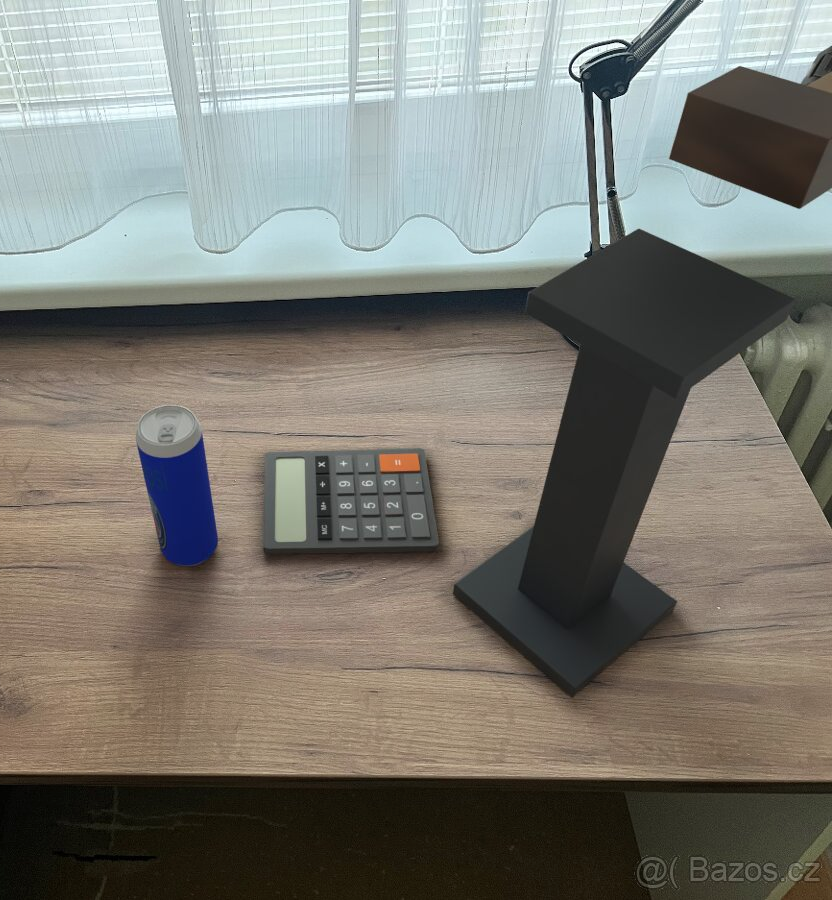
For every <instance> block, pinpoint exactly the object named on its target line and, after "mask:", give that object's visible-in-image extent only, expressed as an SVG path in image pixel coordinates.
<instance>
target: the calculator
mask: <svg viewBox="0 0 832 900" xmlns="http://www.w3.org/2000/svg"><path fill="white" fill-rule="evenodd" d="M427 464H428V463H427V457H426V452H425V449H423V448H420V447H416V448H413V447H412V448H377V449H375V448H373V449H372V448H371V449H342V450H341V449H340V450H339V449H337V450H302V451H301V450H300V451H269V452H265V455H264V486H263V488H264V489H263V490H264V491H263V492H264V495H263V531H262V540H263V541H262V547H263V549H262V550H263V553H264V554H267V555H271V554H272V555H273V554H274V555H276V554H277V555H278V554H282V555H283V554H343V553H345V554H347V553H350V554H351V553H407V552H409V553H411V552H437V551H438V549H439V543H440V541H439V534H438V527H437V522H436V517H435V515H436V514H435V509H434V503H433V496H432V490H431V483H430V478H429V477H430V476H429V471H428V465H427Z"/></svg>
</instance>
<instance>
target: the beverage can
mask: <svg viewBox="0 0 832 900" xmlns="http://www.w3.org/2000/svg"><path fill="white" fill-rule="evenodd" d="M136 425H137V426H136V433H135V443H136V447H137V451H138V456H139V457H138V458H139V460H140V465H141V468H142V469H141V470H142V473H143V478H144V483H145V488H146V492H147V496H148V500H149V505H150V510H151V513H152V518H153V522H154V527H155V532H156V537H157V541H158V545H159V549H160V552H161V555H162V556H163V557H164V558H165V559H166V560H167V561H168V562H170V563H172V564H175V565H178V566H181V567H195V566H197V565H200V564H202V563H204V562H205V561H207V560H208V559H209V558H211V556H213V554H215V551H216V550H217V548H218V543H219V536H218V530H217V522H216V516H215V510H214V509H215V508H214V502H213V496H212V488H211V483H210V482H211V481H210V476H209V469H208V462H207V455H206V448H205V442H204V435H203V428H202V425H201V423H200V421H199V419H198V418H197V417H196V415H195V413H194V412H193V411H192V410H190V408H188V407H184V406H182V405H179V404H165V405H160V406H156V407H154V408H151V409H149V410H148V411H147V412H145V413H144V414H143V415H142V416H141V417H140V419H139V420H138V422H137V424H136Z"/></svg>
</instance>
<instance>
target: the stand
mask: <svg viewBox="0 0 832 900" xmlns="http://www.w3.org/2000/svg"><path fill="white" fill-rule="evenodd" d="M795 302H796V298H795V297H793V296H790V295H788V294H786V293H784V292H781V291H780V290H777V289H775V288H773V287H770V286H768V285H766V284H764V283H762V282H759V281H757V280H755V279H752V278H750V277H748V276H745V275H744V274H741V273H739V272H737V271H735V270H732V269H730V268H728V267H726V266H724V265H721V264H719V263H717V262H715V261H712V260H710V259H708V258H706V257H703V256H701V255H699V254H697V253H695V252H692V251H690V250H688V249H687V248H684V247H682V246H679V245H677V244H674V243H673V242H671V241H668V240H666V239H664V238H662V237H659V236H657V235H656V234H652V233H650V232H648V231H646V230H644V229H641V228H636V229H634V230H633V231H632V232H630V233H628V234H627V235H625V236H623V237H621V238H620V239H618V240H615V242H613V243H611V244H609V245H607V246H606V247H604V248H602V249H600V250H598V251H597V252H595V253H594V254H592V255H590V256H589V257H586V258H585V259H583V260H581V261H580V262H578V263H576V264H574V265H573V266H571V267H569V268H568V269H566V270H564V271H563V272H561V273H559V274H557V275H556V276H554V277H552V278H551V279H549V280H547V281H546V282H544V283H542V284H541V285H539V286H537V287H535V288H533V289H531V290H530V291H528V293H527V299H526V304H525V308H524V314H526V315H527V316H529V317H531V318H533V319H535V320H536V321H538V322H540V323H541V324H543V325H545V326H547V327H549V328H550V329H552V330H554V331H556V332H557V333H559V334H561V335H562V336H564V337H566V338H567V339H570V340H572V341H573V342H575V343H576V344H579V348H578V352H577V357H576V360H575V363H574V367H573V372H572V376H571V379H570V383H569V388H568V391H567V395H566V399H565V403H564V407H563V411H562V413H561V414H562V415H561V418H560V423H559V427H558V430H557V434H556V437H555V441H554V445H553V449H552V453H551V456H550V457H551V458H550V461H549V465H548V469H547V472H546V476H545V480H544V484H543V489H542V492H541V495H540V500H539V505H538V508H537V513H536V516H535V520H534V523H533V526H531V527H530V528H529V529H528V530H526V531H525V532H523V533H522V534H521V535H519V536H518V537H517V538H515V539H513V540H512V541H511V542H510V543H508V544H507V545H505V546H504V547H503V548H502V549H500V550H499V551H497V552H496V553H494V554H493V555H492V556H490V557H489V558H488V559H486V560H485V561H483V562H482V563H481V564H479V565H478V566H476V567H475V568H474V569H472V570H471V571H470V572H469V573H467V574H466V575H464V576H462V577H461V578H459V580H457V581H456V582H454V584H453V589H452V595H453V596H454V597H455V598H456V599H457V600H458V601H460V602H461V603H462V604H463V605H464V606H465V607H467V608H468V609H469V610H470V611H471V612H472V613H474V614H475V616H477V617H478V618H479V619H481V620H482V621H483V622H484V623H485V624H486V625H487V626H488V627H489V628H490V629H492V631H494V632H495V633H496V634H498V635H499V636H500V637H501V638H502V639H503V640H505V641H506V642H507V643H508V644H509V645H510V646H511V647H513V648H514V649H515V650H516V651H517V652H518V653H520V655H522V656H523V657H524V658H525V659H526V660H527V661H528V662H530V663H531V664H532V665H533V666H534V667H535V668H537V669H538V670H539V671H540V672H541V673H543V675H545V676H546V677H547V678H548V679H549V680H550V681H552V682H553V683H554V684H555V685H556V686H557V687H558V688H559V689H561V691H563V692H564V693H565V694H566V695H568V696H569V697H570V698H571V699H572V698H574V697H575V696H576V695H577V694H579V693H580V692H581V691H582V690H583V689H585V687H587V686H588V685H589V684H590V683H592V682H593V681H594V680H595V679H596V678H597V677H598V676H599V675H601V674H602V673H604V671H605V670H607V669H608V668H609V667H610V666H612V665H613V664H614V663H615V662H616V661H617V660H618V659H620V657H622V656H623V655H624V654H625V653H627V652H628V651H629V650H630V649H631V648H632V647H633V646H635V645H636V644H637V643H638V642H639V641H640V640H642V639H643V638H645V636H647V635H648V634H649V633H650V632H651V631H653V630H654V629H655V628H656V627H657V626H658V625H659V624H660V623H662V622H663V621H664V620H665V619H666V618H667V617H669V616H670V615H671V614H672V613H673V612H674V610H675V608H676V607H677V604H678V601H677V600H676V599H675V598H673V597H672V596H671V595H669V593H667V592H665V591H664V590H663V589H661V588H660V587H658V585H655V584H654V583H653V582H651V581H650V580H649V579H647V578H646V577H644V576H643V575H641V574H640V573H639V572H638V571H636V570H635V569H634V568H632V567H631V566H629V565H628V564H627V563H625V560H626V556H627V554H628V552H629V549H630V546H631V544H632V541H633V539H634V537H635V533H636V531H637V529H638V525H639V523H640V521H641V518H642V515H643V512H644V510H645V508H646V506H647V502H648V500H649V497H650V495H651V492H652V490H653V488H654V484H655V482H656V481H657V477H658V474H659V472H660V469H661V466H662V464H663V462H664V459H665V456H666V455H667V451H668V449H669V447H670V443H671V441H672V439H673V435H674V434H675V431H676V428H677V426H678V423H679V420H680V418H681V415H682V413H683V410H684V408H685V405H686V402H687V400H688V397H689V394H690V392H691V389H692V388H693V387H694V386H695V385H697V384H699V383H700V382H701V381H703V380H704V379H706V378H707V377H708V376H710V375H711V374H713V373H714V372H716V370H719V369H720V368H721V367H722V366H724V365H725V364H726V363H728V362H729V361H731V360H732V359H734V358H735V357H736V356H739V354H741V353H742V352H743V351H745V350H746V349H748V348H749V347H751V346H752V345H754V344H755V343H757V342H758V341H759V340H760V339H762V338H763V337H765V336H766V335H767V334H769V333H770V332H772V331H774V329H776V328H777V327H779V326H780V325H782V324H783V323H784V322H786V321H787V319H788V317H789V315H790V313H791V311H792V308H793V306H794V304H795Z"/></svg>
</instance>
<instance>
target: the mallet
mask: <svg viewBox="0 0 832 900" xmlns="http://www.w3.org/2000/svg"><path fill="white" fill-rule="evenodd" d="M668 160H670V161H673V162H676V163H678V164H681V165H683V166H686V167H689V168H691V169H694V170H696V171H698V172H702V173H704V174H707V175H709V176H712V177H715V178H717V179H719V180H722V181H724V182H727V183H730V184H733V185H736V186H738V187H740V188H743V189H745V190H748V191H751V192H753V193H756V194H758V195H762V196H764V197H767V198H769V199H772V200H774V201H777V202H780V203H782V204H785V205H787V206H790V207H792V208H794V209H797V210H801V209H802V208H804V207H806V206H807V205H808V204H811V202H813V201H814V200H816V199H818V198H819V197H820V196H823V195H824V194H825V193H827V192H828V191H830V190H831V189H832V72H830V73H828V74H827V75H825V76H823V77H821V78H820V79H818V80H816V81H814V82H812V83H811V84H809V85H807V86H806V85H803V84H801V83H798V82H795V81H792V80H789V79H785V78H782V77H778V76H775V75H772V74H769V73H765V72H762V71H758V70H755V69H753V68H748V67H745V66H742V65H739V66H735V68H732V69H731V70H729V71H726V72H725V73H723V74H721V75H719V76H717V77H716V78H713V79H712V80H710V81H707V82H706V83H704V84H702V85H700V86H698V87H696V88H694V89H693V90H690V91H689V92H687V94H686V97H685V101H684V103H683V107H682V111H681V115H680V118H679V121H678V124H677V127H676V131H675V135H674V139H673V142H672V145H671V149H670V151H669V155H668Z"/></svg>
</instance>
